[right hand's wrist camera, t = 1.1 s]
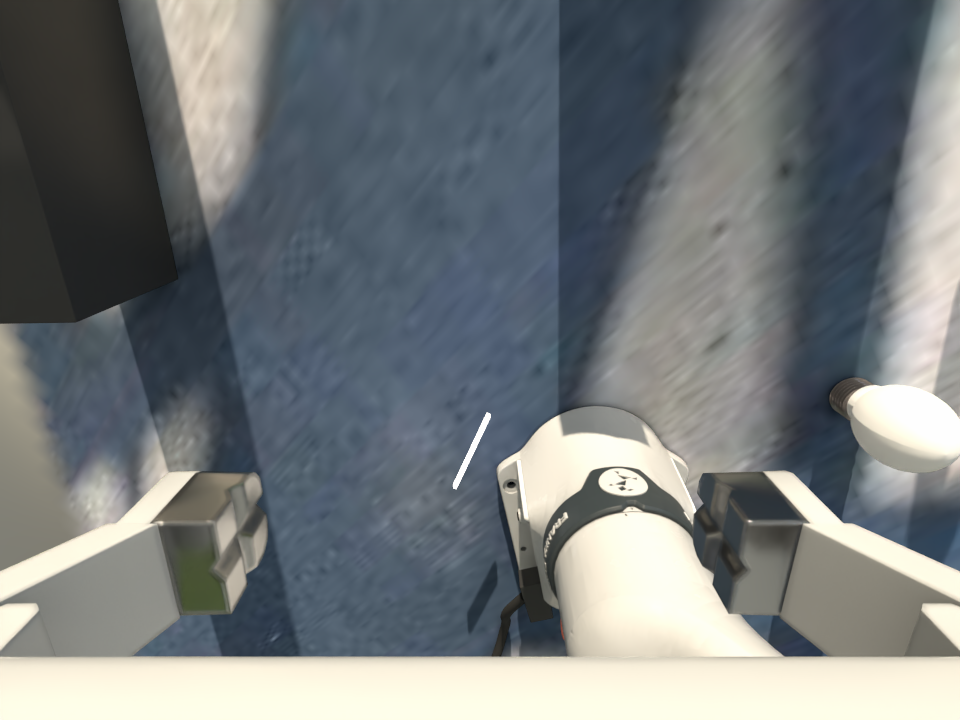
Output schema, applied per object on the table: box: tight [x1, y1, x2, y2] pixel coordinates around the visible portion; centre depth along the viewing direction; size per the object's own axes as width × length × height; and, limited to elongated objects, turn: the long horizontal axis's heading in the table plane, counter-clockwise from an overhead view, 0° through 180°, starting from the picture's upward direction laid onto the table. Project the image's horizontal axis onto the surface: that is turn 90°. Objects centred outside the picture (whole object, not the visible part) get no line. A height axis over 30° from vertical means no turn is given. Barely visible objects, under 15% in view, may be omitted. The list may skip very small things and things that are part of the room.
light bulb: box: [829, 378, 960, 473], centre depth 46 cm, size 7×7×11 cm
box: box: [0, 0, 178, 324], centre depth 38 cm, size 21×6×13 cm, turn 1°
